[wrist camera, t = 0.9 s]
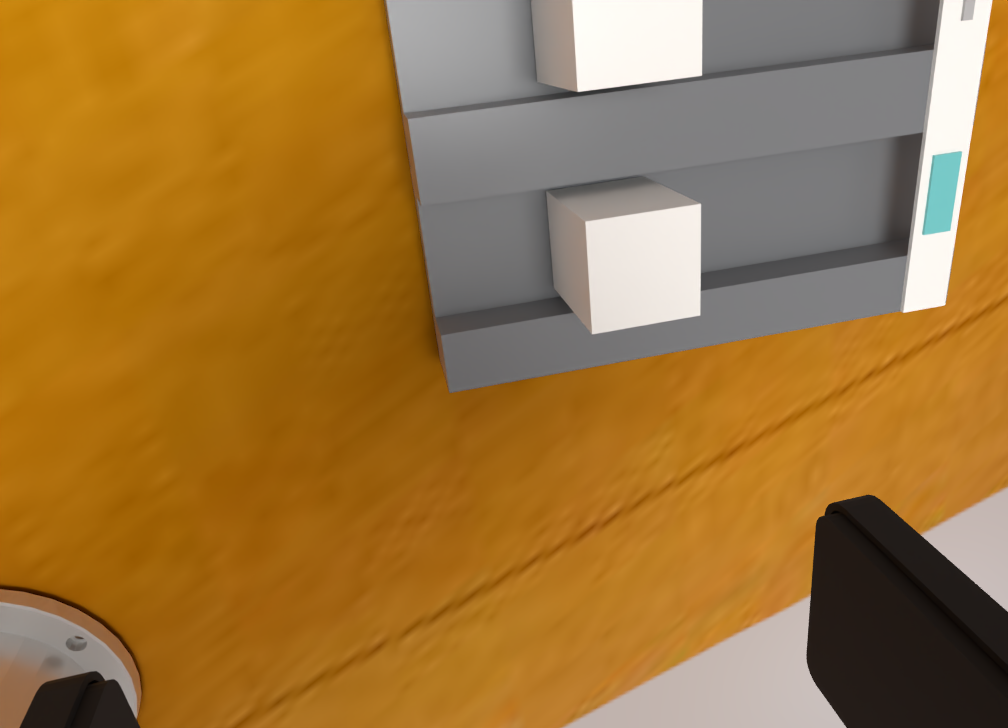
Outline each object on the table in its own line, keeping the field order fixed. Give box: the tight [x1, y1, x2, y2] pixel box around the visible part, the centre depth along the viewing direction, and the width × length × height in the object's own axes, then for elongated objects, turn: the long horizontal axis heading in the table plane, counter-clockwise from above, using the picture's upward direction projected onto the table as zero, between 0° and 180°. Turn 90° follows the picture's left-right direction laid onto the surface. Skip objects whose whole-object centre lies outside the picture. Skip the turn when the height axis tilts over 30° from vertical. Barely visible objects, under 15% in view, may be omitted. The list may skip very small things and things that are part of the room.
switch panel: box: [384, 0, 992, 393], centre depth 27 cm, size 26×22×4 cm
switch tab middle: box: [531, 0, 703, 92], centre depth 24 cm, size 4×4×5 cm
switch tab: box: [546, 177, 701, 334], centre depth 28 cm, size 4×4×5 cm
